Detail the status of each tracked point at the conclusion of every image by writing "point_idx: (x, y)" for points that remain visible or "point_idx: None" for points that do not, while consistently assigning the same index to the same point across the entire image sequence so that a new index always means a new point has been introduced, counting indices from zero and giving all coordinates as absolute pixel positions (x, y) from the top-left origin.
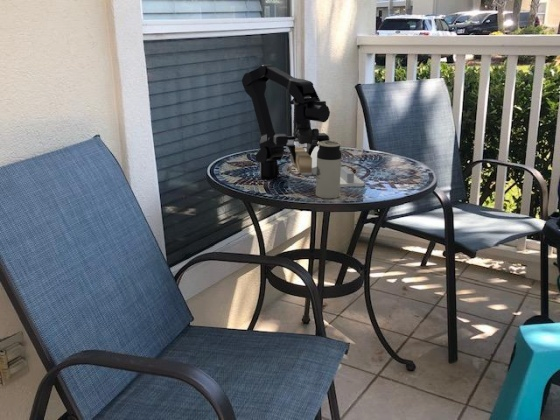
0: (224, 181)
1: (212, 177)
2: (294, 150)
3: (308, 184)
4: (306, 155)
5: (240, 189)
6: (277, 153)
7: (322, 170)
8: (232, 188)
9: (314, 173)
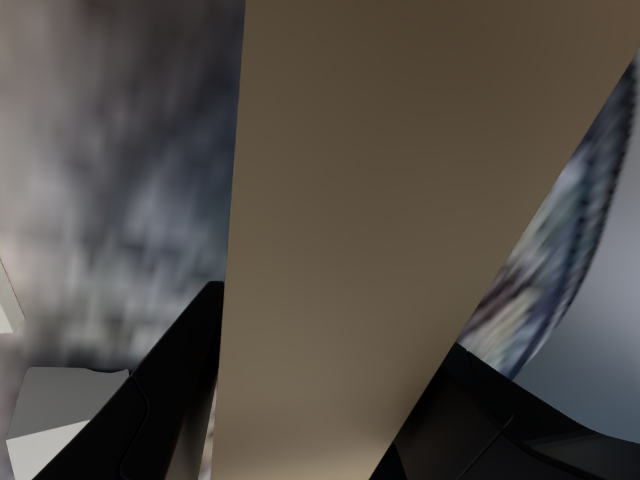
0: (536, 312)
1: (532, 353)
2: (506, 420)
3: (202, 215)
4: (342, 168)
5: (573, 199)
6: (398, 469)
7: None
8: (584, 221)
9: (119, 379)
